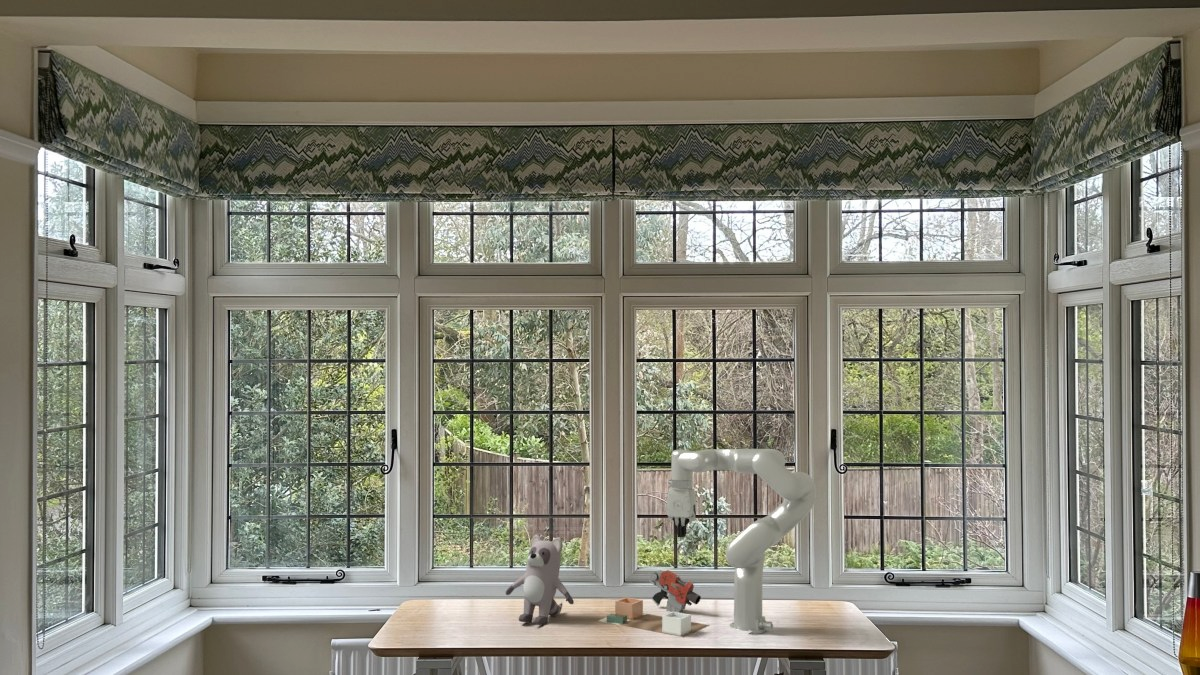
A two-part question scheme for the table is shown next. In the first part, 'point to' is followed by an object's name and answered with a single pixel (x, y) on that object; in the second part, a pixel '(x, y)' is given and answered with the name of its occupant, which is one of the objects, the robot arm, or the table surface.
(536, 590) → the toy
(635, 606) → the peach open cubby box
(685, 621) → the white open cubby box
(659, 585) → the toy gun
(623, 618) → the tin
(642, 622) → the board
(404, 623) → the table surface
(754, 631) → the robot arm
